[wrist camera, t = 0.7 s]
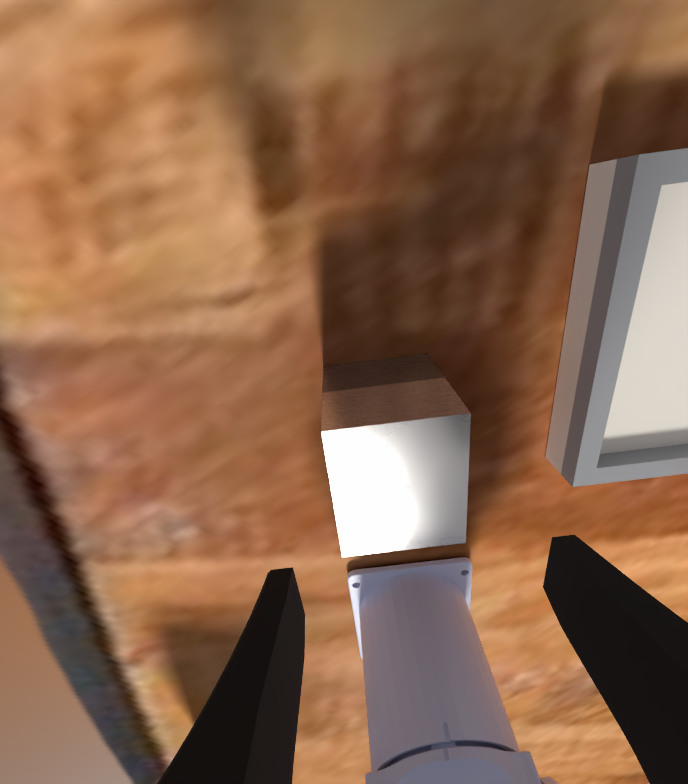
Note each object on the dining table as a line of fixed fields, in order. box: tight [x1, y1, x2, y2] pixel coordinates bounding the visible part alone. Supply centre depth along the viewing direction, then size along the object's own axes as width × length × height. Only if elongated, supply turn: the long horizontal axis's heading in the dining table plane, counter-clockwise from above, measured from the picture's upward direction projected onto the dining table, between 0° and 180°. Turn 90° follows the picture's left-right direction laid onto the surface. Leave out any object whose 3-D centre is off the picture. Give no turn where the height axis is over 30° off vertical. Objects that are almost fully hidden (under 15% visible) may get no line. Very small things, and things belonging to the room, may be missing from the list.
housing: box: [321, 353, 471, 557], centre depth 16 cm, size 6×5×6 cm
